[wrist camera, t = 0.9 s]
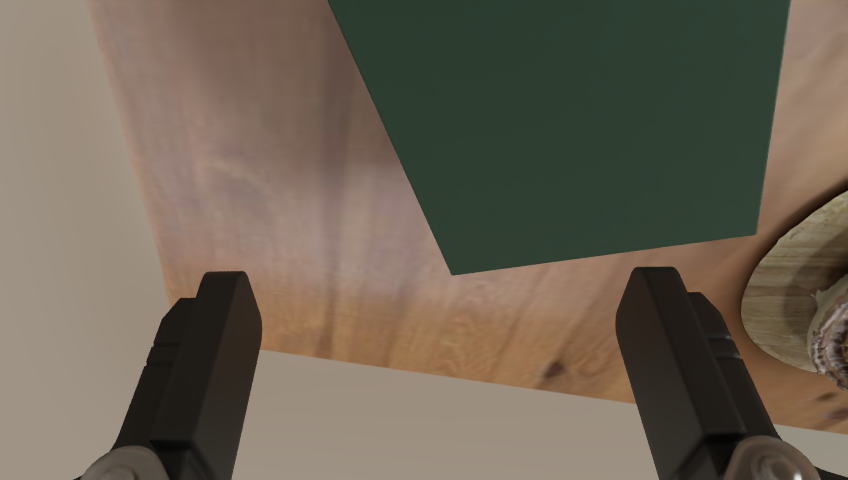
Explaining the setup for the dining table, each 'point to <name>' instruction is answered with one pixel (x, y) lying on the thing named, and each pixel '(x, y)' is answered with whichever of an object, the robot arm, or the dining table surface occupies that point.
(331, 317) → the dining table surface
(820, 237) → the pie
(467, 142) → the cabinet
